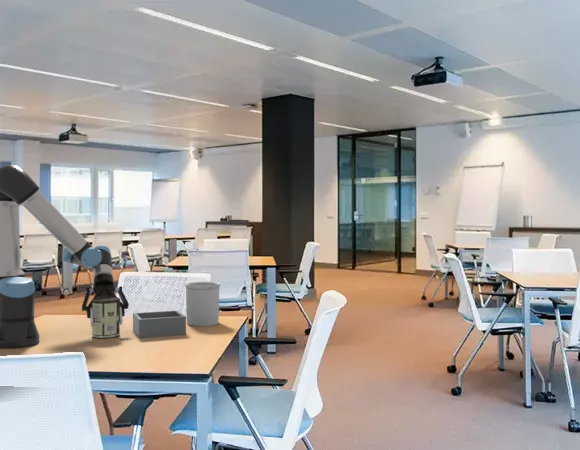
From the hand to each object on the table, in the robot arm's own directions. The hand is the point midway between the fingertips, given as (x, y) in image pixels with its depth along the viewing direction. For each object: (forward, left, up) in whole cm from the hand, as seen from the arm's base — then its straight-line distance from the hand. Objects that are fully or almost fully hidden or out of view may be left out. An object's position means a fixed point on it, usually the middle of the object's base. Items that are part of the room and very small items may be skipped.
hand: (106, 323), depth 210 cm
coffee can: (0, +3, -5) cm, 6 cm away
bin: (+20, +2, -5) cm, 21 cm away
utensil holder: (+41, +14, -5) cm, 44 cm away
